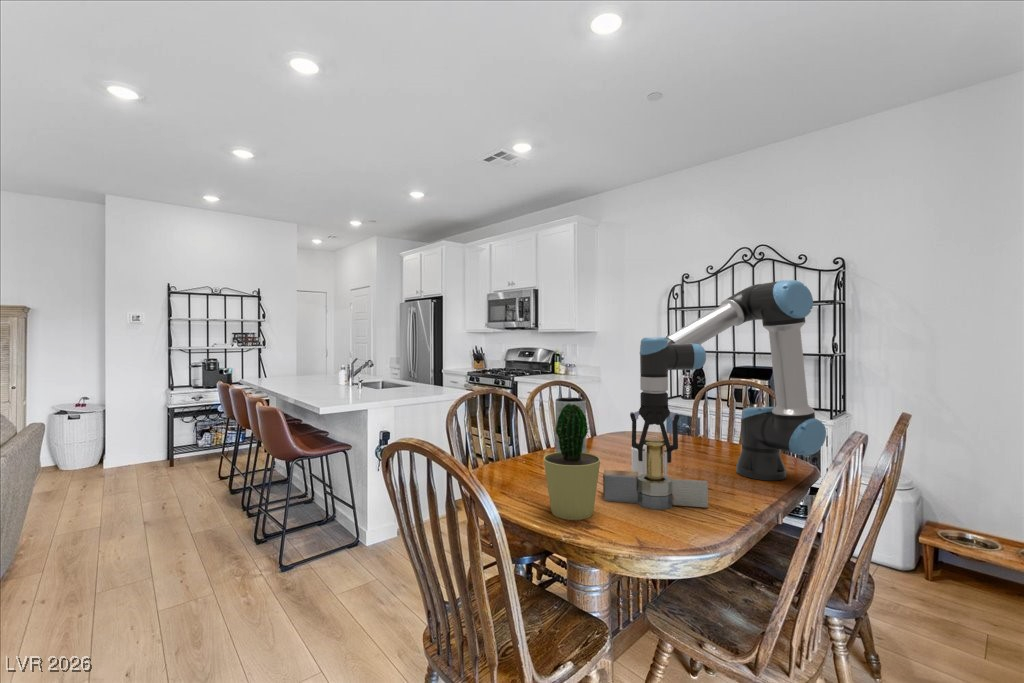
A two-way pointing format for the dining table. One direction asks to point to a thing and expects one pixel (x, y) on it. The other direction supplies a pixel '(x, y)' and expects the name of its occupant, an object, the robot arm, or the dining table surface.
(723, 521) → the dining table surface
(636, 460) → the mug
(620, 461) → the dining table surface
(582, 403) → the vase
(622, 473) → the block
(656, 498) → the hinge base
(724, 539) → the dining table surface
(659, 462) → the hinge pin
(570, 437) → the potted cactus
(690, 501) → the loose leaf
